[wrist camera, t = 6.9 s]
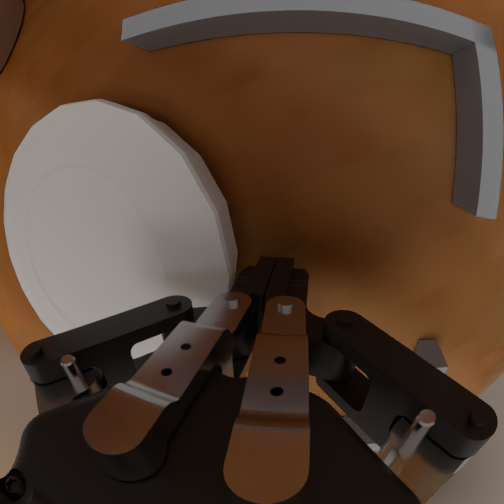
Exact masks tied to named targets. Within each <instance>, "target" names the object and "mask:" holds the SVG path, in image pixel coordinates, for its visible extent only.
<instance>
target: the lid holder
mask: <svg viewBox="0 0 504 504" xmlns="http://www.w3.org/2000/svg"><path fill="white" fill-rule="evenodd" d="M280 32H315V33H335V34H348V35H358V36H366V37H374V38H380V39H387V40H393V41H398V42H403V43H408V44H413V45H417V46H422V47H426V48H430V49H433V50H437V51H441V52H444V53H448V54H451V55H452V61H453V69H454V79H455V92H456V115H457V140H456V164H455V178H454V188H453V197H452V203H453V204H455V205H457V206H459V207H460V208H462V209H464V210H466V211H468V212H469V213H471V214H473V215H475V216H477V217H484V218H490V219H496V216H497V210H498V203H499V195H500V186H501V176H502V162H503V105H502V92H501V82H500V74H499V66H498V60H497V54H496V48H495V43H494V39H493V34H492V30H491V28H490V27H488V26H486V25H483V24H481V23H479V22H476V21H474V20H471V19H469V18H466V17H464V16H461V15H458V14H455V13H452V12H449V11H446V10H443V9H440V8H437V7H434V6H430V5H427V4H423V3H419V2H415V1H411V0H186V1H182V2H178V3H174V4H170V5H167V6H163V7H160V8H156V9H153V10H150V11H147V12H144V13H141V14H138V15H135V16H132V17H129V18H126V19H124V20H123V24H122V35H121V41H123V42H126V43H128V44H131V45H133V46H136V47H138V48H141V49H143V50H146V51H148V52H150V51H154V50H158V49H162V48H166V47H170V46H175V45H179V44H184V43H189V42H195V41H200V40H206V39H213V38H220V37H227V36H236V35H246V34H259V33H280ZM414 353H416V354H417V355H418V356H420V357H421V358H423V359H424V360H426V361H427V362H429V363H430V364H431V365H433V366H434V367H436V368H437V369H439V370H440V371H441V372H443V373H444V374H445V373H446V371H447V368H448V365H447V363H446V361H445V358H444V356H443V354H442V352H441V349H440V347H439V345H438V343H437V341H436V339H428V340H419V341H418V344H417V346H416V349H415V352H414ZM342 418H343V419H344V420H345V421H346V422H347V423H348V424H349V425H350V427H351V428H352V429H353V430H354V431H355V432H356V433H357V434H358V435H359V436H360V437H361V438H362V440H363V441H364V442H365V443H366V444H367V445H368V446H369V447H370V448H371V449H372V450H373V451H380V447H379V446H378V445H377V444H376V443H375V442H374V441H373V440H372V439H371V438H370V437H369V436H368V435H367V434H366V433H365V432H364V431H363V430H362V429H361V428H360V427H359V426H358V425H357V424H356V423H355V422H354V421H353V420H352V419H351V418H350V417H342Z"/></svg>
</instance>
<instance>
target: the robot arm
mask: <svg viewBox="0 0 504 504" xmlns="http://www.w3.org/2000/svg"><path fill="white" fill-rule="evenodd" d="M23 11H24V3H23V0H0V72H1V70H2V68H3V66H4V65H5V63H6V61H7V59H8V57H9V55H10V52H11V50H12V48H13V45H14V43H15V40H16V38H17V35H18V32H19V29H20V25H21V22H22V17H23ZM308 280H309V274H308V273H307V272H306V270H305V269H294V258H283V257H278V258H277V257H265V256H261V258H260V260H259V262H258V264H257V266H248V267H246V268H245V269H243V270H242V271H241V273H240V274H239V277H238V278H237V280H236V281H235V283H234V285H233V286H232V288H231V290H230V291H229V292H226V293H222V294H220V295H218V296H217V297H216V298H215V299H214V300H213V301H212V302H211V304H210V305H209V306H207V307H194V308H193V306H192V301H191V299H190V298H188V297H186V296H181V295H173V296H168V297H165V298H162V299H159V300H156V301H153V302H151V303H148V304H145V305H142V306H139V307H136V308H133V309H130V310H127V311H125V312H122V313H119V314H116V315H113V316H110V317H107V318H104V319H101V320H98V321H95V322H92V323H89V324H86V325H83V326H80V327H77V328H75V329H72V330H69V331H66V332H63V333H60V334H57V335H54V336H50V337H47V338H44V339H41V340H38V341H35V342H33V343H31V344H29V345H28V346H26V347H25V348H24V349H23V351H22V352H21V355H20V359H21V362H22V364H23V365H24V367H25V369H26V371H27V372H28V374H29V376H30V379H31V381H32V383H33V384H34V386H35V391H36V398H37V405H38V411H39V415H37V416H36V417H35V418H33V419H32V420H31V421H30V422H29V423H28V425H27V426H26V428H25V429H24V431H23V434H22V437H21V441H20V446H19V450H18V454H17V457H16V460H15V462H14V464H13V466H12V469H11V470H10V472H9V473H8V474H7V475H6V476H5V477H3V478H1V479H0V504H425V503H426V502H427V501H428V500H429V499H430V498H431V497H432V496H433V495H434V494H435V493H436V492H437V491H438V489H440V487H441V486H442V485H443V484H444V483H445V482H447V481H448V480H449V479H450V478H451V477H452V476H453V475H454V474H456V473H457V472H458V471H459V470H460V469H461V468H462V467H463V466H464V465H465V464H466V463H467V462H468V461H469V460H470V459H471V458H472V457H473V456H474V455H475V454H476V453H477V452H478V451H479V450H480V448H481V447H482V446H483V445H484V444H485V443H486V442H487V441H488V440H489V438H490V437H491V436H492V435H493V434H494V432H495V431H496V428H497V422H498V421H497V416H496V413H495V411H494V410H493V409H492V408H491V406H489V405H488V404H487V403H485V402H484V401H483V400H481V399H480V398H478V397H477V396H476V395H474V394H473V393H471V392H470V391H469V390H467V389H466V388H464V387H463V386H461V385H460V384H459V383H457V382H456V381H454V380H453V379H451V378H450V377H449V376H447V375H446V374H444V373H443V372H441V371H440V370H439V369H437V368H436V367H434V366H433V365H431V364H430V363H429V362H427V361H426V360H424V359H423V358H421V357H420V356H418V355H417V354H416V353H414V352H413V351H411V350H410V349H408V348H407V347H406V346H404V345H403V344H401V343H400V342H398V341H397V340H395V339H394V338H393V337H391V336H390V335H388V334H387V333H385V332H384V331H382V330H381V329H379V328H378V327H377V326H375V325H374V324H372V323H371V322H369V321H368V320H366V319H365V318H363V317H362V316H361V315H359V314H357V313H355V312H352V311H347V310H338V311H333V312H331V313H329V314H328V315H327V316H326V317H325V318H321V317H318V316H316V315H314V314H312V313H311V312H309V311H308V309H307V295H308ZM160 334H162V337H163V343H162V344H161V345H160V346H159V347H158V348H157V349H156V351H153V352H151V353H148V354H146V355H143V356H141V357H138V358H135V359H133V358H132V355H131V349H132V347H133V346H134V345H135V344H137V343H139V342H142V341H144V340H147V339H149V338H152V337H155V336H157V335H160ZM355 366H357V367H358V368H359V369H360V370H362V371H363V372H364V373H365V374H366V375H367V376H368V378H369V379H368V378H366V377H365V376H364V375H363V374H362V373H361V372H359V371H358V370H357V369H356V368H355ZM94 367H95V368H94ZM249 367H250V368H249ZM248 369H249V373H248V377H245V375H246V373H247V371H248ZM309 375H312V376H315V377H316V382H317V384H318V386H319V387H320V388H321V389H322V390H323V391H324V392H325V393H326V394H327V395H328V396H329V397H330V398H331V399H332V400H333V401H334V402H335V403H336V404H337V405H338V406H339V407H340V408H341V409H342V410H343V411H344V412H345V413H346V414H347V415H348V416H349V417H350V418H351V419H352V420H353V421H354V422H355V423H356V424H357V425H358V426H359V427H360V428H361V429H362V430H363V431H364V432H365V433H366V434H367V435H368V436H369V437H370V438H371V439H372V440H373V441H374V442H375V443H376V444H377V445H378V446H379V447H380V451H379V457H378V455H377V454H376V453H375V452H374V451H373V450H372V449H371V448H370V447H369V446H368V445H367V444H366V443H365V442H364V441H363V440H362V438H361V437H360V436H359V435H358V434H357V433H356V432H355V431H354V430H353V429H352V428H351V427H350V425H349V424H348V423H347V422H346V421H345V420H344V419H343V418H342V417H341V416H340V414H339V413H338V412H337V411H336V410H335V409H334V408H333V407H332V406H331V405H330V404H329V403H328V402H326V401H325V400H324V399H322V398H321V397H319V396H317V395H315V394H313V393H311V392H309Z"/></svg>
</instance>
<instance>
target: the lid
mask: <svg viewBox="0 0 504 504" xmlns="http://www.w3.org/2000/svg"><path fill="white" fill-rule="evenodd" d="M4 226H5V233H6V239H7V244H8V249H9V254H10V258H11V261H12V264H13V267H14V269H15V272H16V275H17V277H18V280H19V282H20V285H21V287H22V290H23V291H24V293H25V295H26V297H27V298H28V300H29V302H30V303H31V305H32V307H33V308H34V310H35V311H36V313H37V315H38V316H39V318H40V319H41V321H42V322H43V323H44V324H45V325H46V326H47V328H48V329H49V330H50V331H51V332H52V333H53V334H54V335H57V334H60V333H63V332H66V331H69V330H72V329H75V328H77V327H80V326H83V325H86V324H89V323H92V322H95V321H98V320H101V319H104V318H107V317H110V316H113V315H116V314H119V313H122V312H125V311H127V310H130V309H133V308H136V307H139V306H142V305H145V304H148V303H151V302H153V301H156V300H159V299H162V298H165V297H168V296H173V295H181V296H186V297H188V298H190V299H191V301H192V306H193V308H194V307H207V306H209V305H210V304H211V302H212V301H213V300H214V299H215V298H216V297H217V296H218V295H220V294H222V293H226V292H229V291H230V290H231V288H232V286H233V285H234V283H235V273H236V264H237V254H238V251H237V247H236V242H235V238H234V233H233V229H232V224H231V219H230V215H229V210H228V206H227V202H226V200H225V198H224V196H223V195H222V193H221V191H220V189H219V187H218V186H217V184H216V182H215V180H214V179H213V177H212V175H211V173H210V171H209V170H208V168H207V166H206V164H205V163H204V161H203V159H202V157H201V156H200V155H199V154H198V153H197V152H196V151H195V150H194V149H193V148H192V147H191V146H189V145H188V144H187V143H186V142H185V141H184V140H183V139H182V138H181V137H180V136H178V135H177V134H176V133H175V132H174V131H173V130H172V129H171V128H170V127H168V126H167V125H166V124H165V123H163V122H160V121H157V120H155V119H152V118H151V117H150V116H149V115H148V114H146V113H143V112H140V111H137V110H135V109H132V108H129V107H126V106H123V105H120V104H117V103H114V102H111V101H108V100H105V99H93V100H86V101H80V102H74V103H68V104H63V105H61V106H59V107H58V108H56V109H55V110H53V111H52V112H50V113H49V114H48V115H46V116H45V117H44V118H42V119H41V120H40V121H38V122H37V123H36V124H34V125H33V126H32V127H31V129H30V130H29V132H28V133H27V135H26V136H25V138H24V139H23V141H22V143H21V144H20V146H19V147H18V149H17V151H16V152H15V154H14V157H13V160H12V164H11V167H10V170H9V174H8V178H7V182H6V186H5V197H4ZM162 343H163V337H162V334H160V335H157V336H155V337H152V338H149V339H147V340H144V341H142V342H139V343H137V344H135V345H134V346H133V347H132V349H131V355H132V358H133V359H135V358H138V357H141V356H143V355H146V354H148V353H151V352H153V351H156V349H157V348H158V347H159V346H160V345H161V344H162ZM94 368H95V367H94Z"/></svg>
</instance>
